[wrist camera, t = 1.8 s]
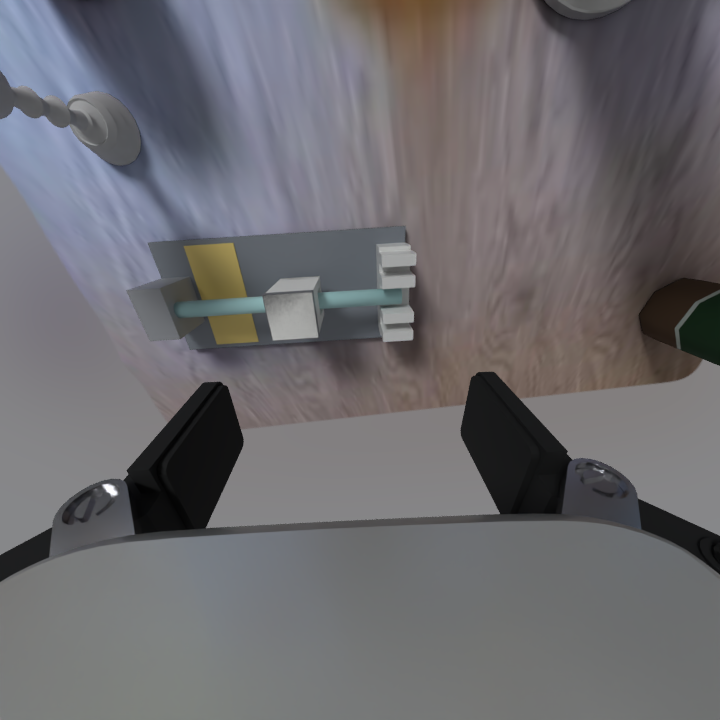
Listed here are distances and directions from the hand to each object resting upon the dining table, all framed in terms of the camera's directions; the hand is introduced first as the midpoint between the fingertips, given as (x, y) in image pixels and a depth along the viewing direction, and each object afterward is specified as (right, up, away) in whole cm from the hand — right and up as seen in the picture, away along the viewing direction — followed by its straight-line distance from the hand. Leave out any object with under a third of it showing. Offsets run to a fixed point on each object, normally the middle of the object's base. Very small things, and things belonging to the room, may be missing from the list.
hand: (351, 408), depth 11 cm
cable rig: (-8, +10, +20) cm, 24 cm away
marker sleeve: (-6, +9, +18) cm, 21 cm away
